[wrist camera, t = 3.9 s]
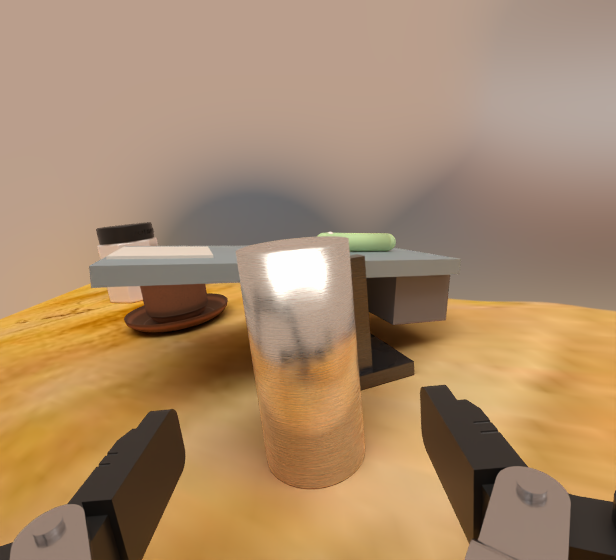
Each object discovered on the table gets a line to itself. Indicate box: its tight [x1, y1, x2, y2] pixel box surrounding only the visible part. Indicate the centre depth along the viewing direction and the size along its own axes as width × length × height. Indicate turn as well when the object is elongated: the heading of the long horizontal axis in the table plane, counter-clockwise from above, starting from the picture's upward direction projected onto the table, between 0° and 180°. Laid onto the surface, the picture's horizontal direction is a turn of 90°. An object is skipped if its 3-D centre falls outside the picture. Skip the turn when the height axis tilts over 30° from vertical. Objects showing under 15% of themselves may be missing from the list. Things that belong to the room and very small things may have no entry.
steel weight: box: [236, 236, 365, 489], centre depth 17 cm, size 5×5×11 cm
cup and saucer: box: [124, 284, 227, 332], centre depth 43 cm, size 12×12×6 cm
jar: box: [96, 222, 158, 303], centre depth 58 cm, size 9×8×12 cm
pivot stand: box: [350, 254, 414, 390], centre depth 30 cm, size 8×16×9 cm, turn 19°
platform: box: [89, 232, 461, 325], centre depth 29 cm, size 25×12×7 cm, turn 109°
